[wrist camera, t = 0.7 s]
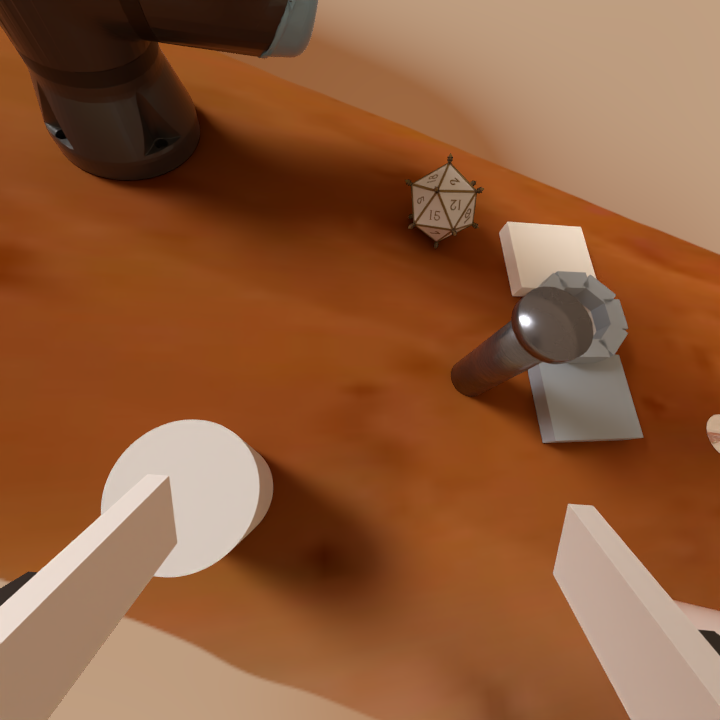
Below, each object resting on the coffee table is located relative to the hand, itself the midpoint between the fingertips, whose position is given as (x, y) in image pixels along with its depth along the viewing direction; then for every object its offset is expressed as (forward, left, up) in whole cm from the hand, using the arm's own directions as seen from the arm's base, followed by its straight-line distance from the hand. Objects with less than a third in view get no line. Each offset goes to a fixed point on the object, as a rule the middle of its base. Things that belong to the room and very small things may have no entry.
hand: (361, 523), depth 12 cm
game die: (-30, +14, -22) cm, 40 cm away
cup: (-1, -8, -22) cm, 23 cm away
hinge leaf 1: (-21, +28, -22) cm, 41 cm away
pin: (-11, +16, -22) cm, 29 cm away
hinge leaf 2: (-13, +28, -22) cm, 37 cm away
